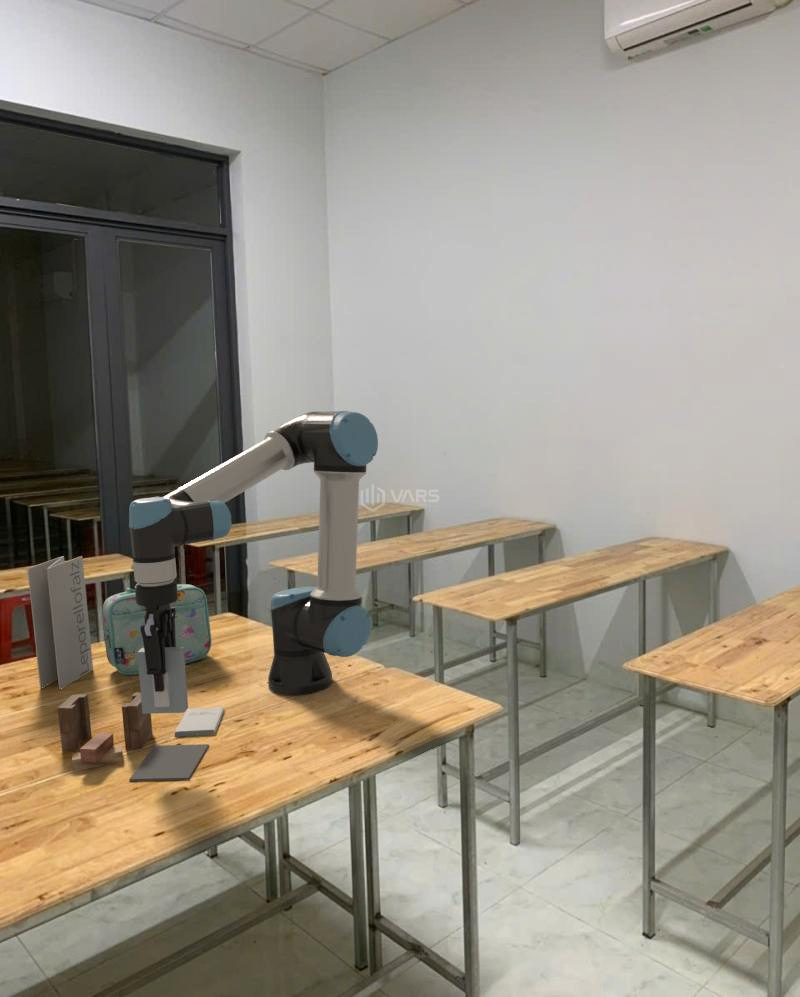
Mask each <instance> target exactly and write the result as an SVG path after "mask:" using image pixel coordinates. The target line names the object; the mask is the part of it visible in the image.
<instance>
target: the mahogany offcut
mask: <svg viewBox="0 0 800 997" xmlns="http://www.w3.org/2000/svg"><path fill="white" fill-rule="evenodd" d="M114 744H115V742H114V733H109V732H98V733H96V734H95V735H94V736H93V737H92V738H91V739H90V740H88V741H87V742H86V743H85V744H84V745H83V746H82V747H81V746H80V748H79V752H80V755H81V761H85V762H97V761H98V760H99V759H100V758H101V757H102V756H103V755H104V754H105V753H106V752H107V751H109V750H110V749H111V748H112V747H115V745H114Z"/></svg>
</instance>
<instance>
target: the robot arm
mask: <svg viewBox="0 0 800 997" xmlns="http://www.w3.org/2000/svg"><path fill="white" fill-rule="evenodd" d="M264 435H265V436H264V439H263V440H262V441H260V442H259V443H256V444H254V445H253V446H252V447H250V448H248V449H246V450H245V451H242V452H241V453H239V454H237V455H235V456H234V457H232V458H230V459H228V460H227V461H225V462H223V463H221V464H220V465H217V466H215V467H214V468H212V469H211V470H209V471H207V472H205V473H203V474H202V475H200V476H199V477H196V478H195V479H193V480H191V481H189V482H188V483H186V484H184V485H183V486H180V487H178V488H177V489H175V490H173V491H171V492H169V493H167V494H165V495H163V496H153V497H152V496H151V497H144V498H138V499H135V500H133V501H132V502H130V505H129V509H128V510H129V512H128V519H129V520H128V521H129V522H128V527H129V532H130V542H131V553H132V564H131V566H130V569H131V570H133V577H134V582H135V583H136V584H135V586H134V590H135V595H136V603H137V604H138V605H140V606H144V607H145V608H146V614H145V624H146V625H141V628H140V630H141V633H142V637H143V643H144V651H145V659H146V667H147V675H152V678H153V691H154V704H155V707H169V706H170V695H169V682H168V672H166V668H165V647H176V639H175V611H176V610H175V608H170V604H171V603H173V602H175V601H176V600H177V599H178V591H177V584H178V582H177V581H176V580H175V579H176V578H177V575H178V574H177V564H176V554H175V553H176V552H175V551H176V550H175V547H180V546H182V545H183V546H185V545H190V544H195V543H203V542H207V541H208V542H209V541H215V540H218V539H222V538H225V537H226V536H228V534H230V531H231V528H232V523H233V522H232V514H231V511H230V508H229V507H228V506H227V504H226V503H227V502H229V501H230V500H232V499H233V498H235V497H237V496H239V495H240V494H242V493H244V492H246V491H247V490H249V489H251V488H253V487H254V486H256V485H257V484H258V483H260V482H262V481H264V480H265V479H267V478H269V477H270V476H273V475H274V474H276V473H278V472H279V471H281V470H282V471H289V470H292V469H293V468H294V467H296V466H299V465H303V464H310V463H313V473H314V474H315V475H316V476H317V477H318V478H319V480H320V482H319V514H318V516H319V517H318V547H317V548H318V549H317V555H318V556H317V579H316V580H317V581H316V582H317V584H316V586H301V587H296V588H295V587H293V588H288V589H285V590H281V591H278V592H276V593H274V594H273V595H272V596H271V599H270V610H269V611H270V612H271V613H270V614H271V627H272V642H273V658H272V662H271V666H270V668H269V673H268V676H267V679H268V680H267V681H268V682H267V683H268V689H269V690H270V691H271V692H273V693H275V694H277V695H278V694H279V695H283V696H286V695H287V696H302V695H305V696H306V695H310V694H314V693H318V692H321V691H324V690H326V689H327V688H329V687H330V686H331V685H332V684H333V672H332V670H331V667H330V664H329V662H328V659H327V657H326V654H327V655H328V656H331V657H341V658H347V657H352V656H354V655H356V654H358V653H359V652H360V651H361V650H362V649H363V647H364V646H365V645H367V642H368V641H369V638H370V636H371V632H372V628H373V623H372V616H371V614H370V613H369V611H368V610H367V609H365V608H364V607H363V606H362V602H363V600H362V599H363V594H362V593H361V592H360V591H359V590H358V589H357V586H356V584H357V582H356V580H357V551H358V524H359V522H358V520H359V494H360V493H359V492H360V491H359V490H360V481H361V479H362V478H363V477H365V475H366V474H367V465H368V464H370V463H371V462H372V461H373V460H374V457H376V454H377V452H378V448H379V439H378V433H377V430H376V428H375V425H374V424H373V423H372V422H371V420H370V419H369V418H368V417H367V416H366V415H364V414H362V413H360V412H357V411H356V412H355V411H348V410H340V411H339V410H338V411H336V410H335V411H310V412H306V413H304V414H301V415H299V416H297V417H295V418H293V419H290V420H288V421H287V422H285V423H283V424H281V425H280V426H278V427H275V428H273V429H272V430H271V431H269V432H267V433H265V434H264Z"/></svg>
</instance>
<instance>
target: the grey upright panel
mask: <svg viewBox="0 0 800 997" xmlns="http://www.w3.org/2000/svg"><path fill="white" fill-rule="evenodd" d="M137 654H138V666H139V674H138V675H139V676H138V677H139V688H140V693H141V702H142V714H149V713H151V714H179V713H180V714H181V713H182V714H185V713H186V711H187V709H189V703H188V701H189V699H188V688H187V687H188V686H187V676H186V675H187V674H186V664H185V658H184V647H165V668H166V672H168V682H169V695H170V706H169V707H155V704H154V691H153V678H152V675H147V667H146V659H145V651H144V648H141V649H140V650H139V651H138V652H137Z"/></svg>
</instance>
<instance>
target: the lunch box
mask: <svg viewBox="0 0 800 997" xmlns="http://www.w3.org/2000/svg"><path fill="white" fill-rule="evenodd" d="M177 591H178V599H177V600H176V601H175V602H173V603H171V604H170V608H175V610H176V611H175V639H176V647H184V658H185V665H186V664H189V663H193V662H195V661H198V660H201V659H203V658H205V657H206V656H207V655H209V652H210V651H211V648H212V633H211V624H210V616H209V615H210V614H209V607H208V598H207V596H206V593H205V591H204V590H203V589H201V588H200V587H196V586H195V585H192V584H187V583H186V584H185V583H180V584H179V583H177ZM101 612H102V625H103V634H104V646H105V653H106V654H105V655H106V658H107V661H108V663H109V664H110V665H111V666H112V667H114V668H115V669H116V671H117V672H118V673H119V674H122V675H125V676H126V675H127V676H128V675H139V666H138V654H137V652H138V651H139V650H140V649H141V648H144V643H143V637H142V633H141V630H140V628H141V625H146V624H145V614H146V608H145V607H144V606H140V605H138V604H137V603H136V595H135V589H133V588H130V587H126V591H123V592H119V593H115V594H114V595H111V596H109V597H108V598H107V597H106V599H105V601H104V603H103V605H102V611H101Z"/></svg>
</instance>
